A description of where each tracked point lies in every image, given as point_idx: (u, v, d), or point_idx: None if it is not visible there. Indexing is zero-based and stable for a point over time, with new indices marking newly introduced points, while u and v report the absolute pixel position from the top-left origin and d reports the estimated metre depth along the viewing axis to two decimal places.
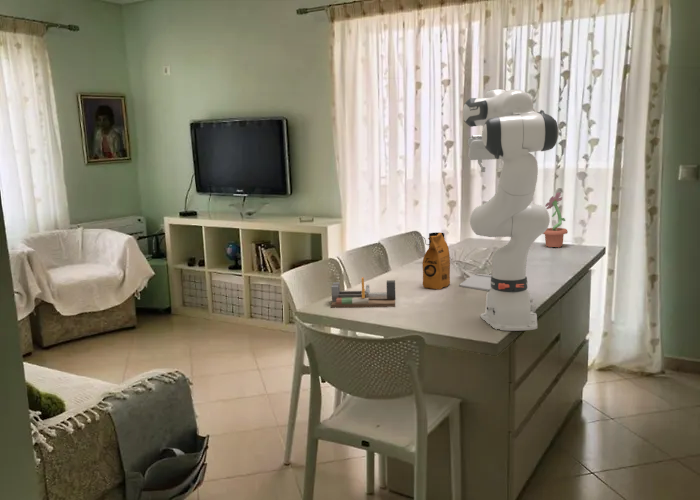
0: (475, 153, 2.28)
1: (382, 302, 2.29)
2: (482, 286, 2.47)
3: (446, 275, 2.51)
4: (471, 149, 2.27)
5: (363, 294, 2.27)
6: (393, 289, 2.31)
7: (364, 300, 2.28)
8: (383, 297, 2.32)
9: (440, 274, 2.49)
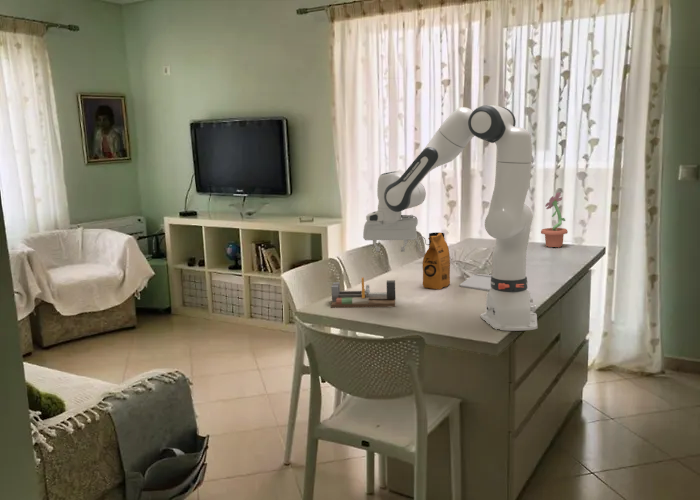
0: None
1: (382, 302, 2.29)
2: (482, 286, 2.47)
3: (446, 275, 2.51)
4: None
5: (363, 294, 2.27)
6: (393, 289, 2.31)
7: (364, 300, 2.28)
8: (383, 297, 2.32)
9: (440, 274, 2.49)
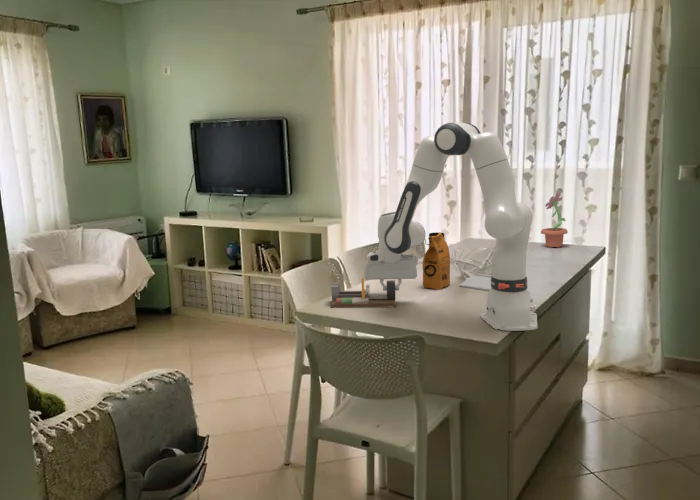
0: None
1: (382, 302, 2.29)
2: (483, 286, 2.47)
3: (446, 275, 2.51)
4: None
5: (363, 294, 2.27)
6: (393, 289, 2.31)
7: (364, 300, 2.28)
8: (383, 297, 2.32)
9: (440, 274, 2.49)
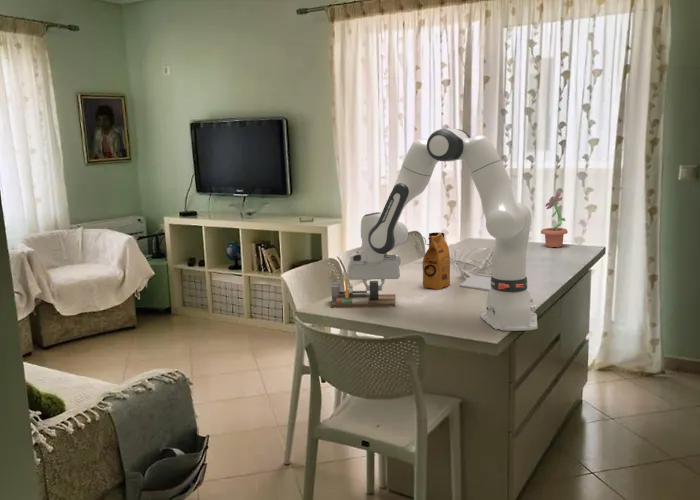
0: None
1: (382, 302, 2.29)
2: (483, 286, 2.47)
3: (446, 275, 2.51)
4: None
5: (347, 294, 2.28)
6: (376, 289, 2.32)
7: (364, 300, 2.28)
8: None
9: (440, 274, 2.49)
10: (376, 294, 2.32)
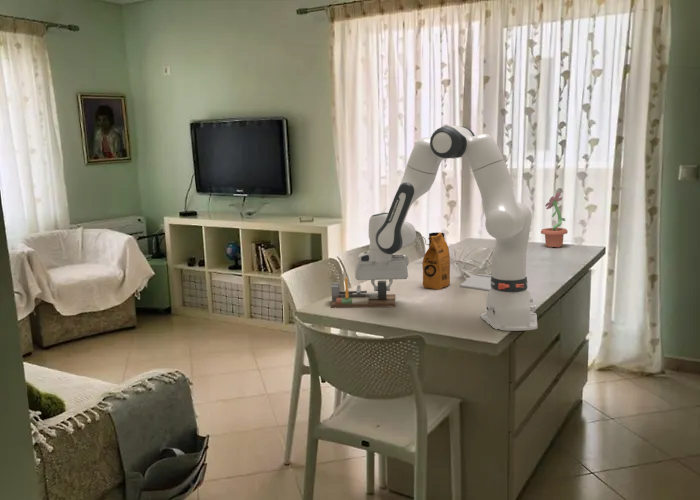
0: None
1: (382, 302, 2.29)
2: (483, 286, 2.47)
3: (446, 275, 2.51)
4: None
5: (347, 294, 2.28)
6: (384, 289, 2.31)
7: (364, 300, 2.28)
8: (374, 297, 2.33)
9: (440, 274, 2.49)
10: (384, 294, 2.32)
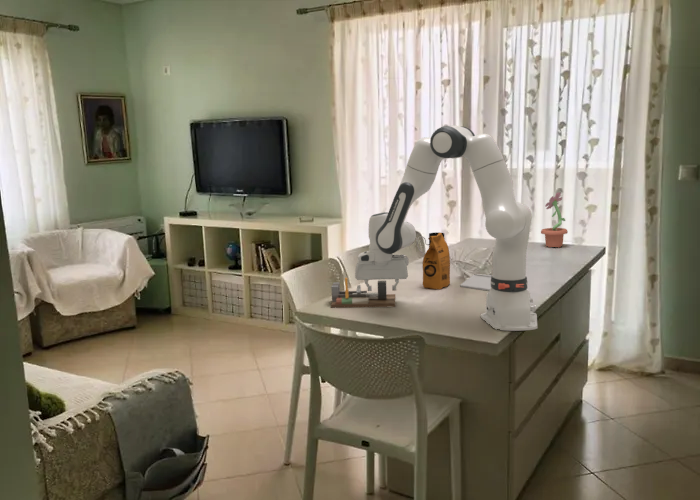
0: None
1: (382, 302, 2.29)
2: (483, 286, 2.47)
3: (446, 275, 2.51)
4: None
5: (347, 294, 2.28)
6: (384, 289, 2.31)
7: (364, 300, 2.28)
8: (374, 297, 2.33)
9: (440, 274, 2.49)
10: (384, 294, 2.32)
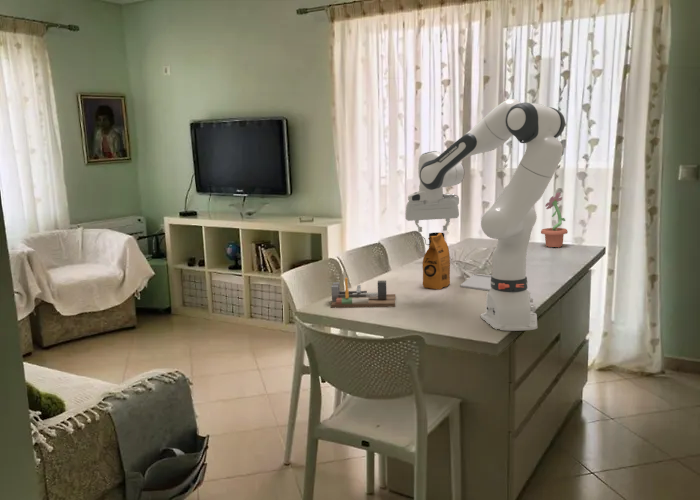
0: None
1: (382, 302, 2.29)
2: (484, 286, 2.47)
3: (446, 275, 2.51)
4: None
5: (347, 294, 2.28)
6: (384, 289, 2.31)
7: (364, 300, 2.28)
8: (374, 297, 2.33)
9: (440, 274, 2.49)
10: (384, 294, 2.32)
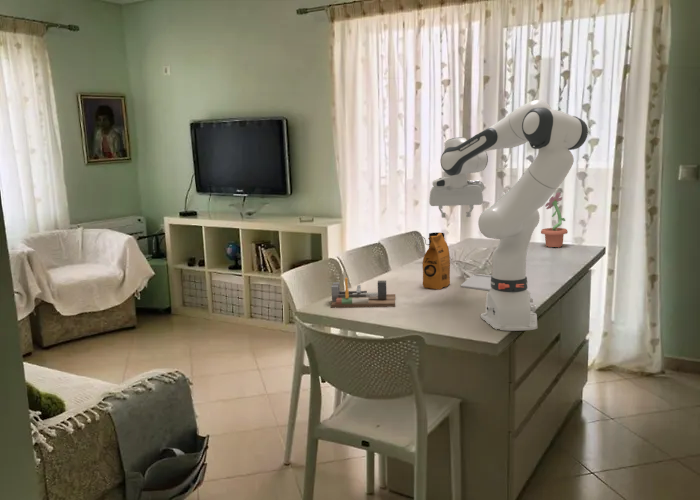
0: None
1: (382, 302, 2.29)
2: (484, 286, 2.47)
3: (446, 275, 2.51)
4: None
5: (347, 294, 2.28)
6: (384, 289, 2.31)
7: (364, 300, 2.28)
8: (374, 297, 2.33)
9: (440, 274, 2.49)
10: (384, 294, 2.32)
